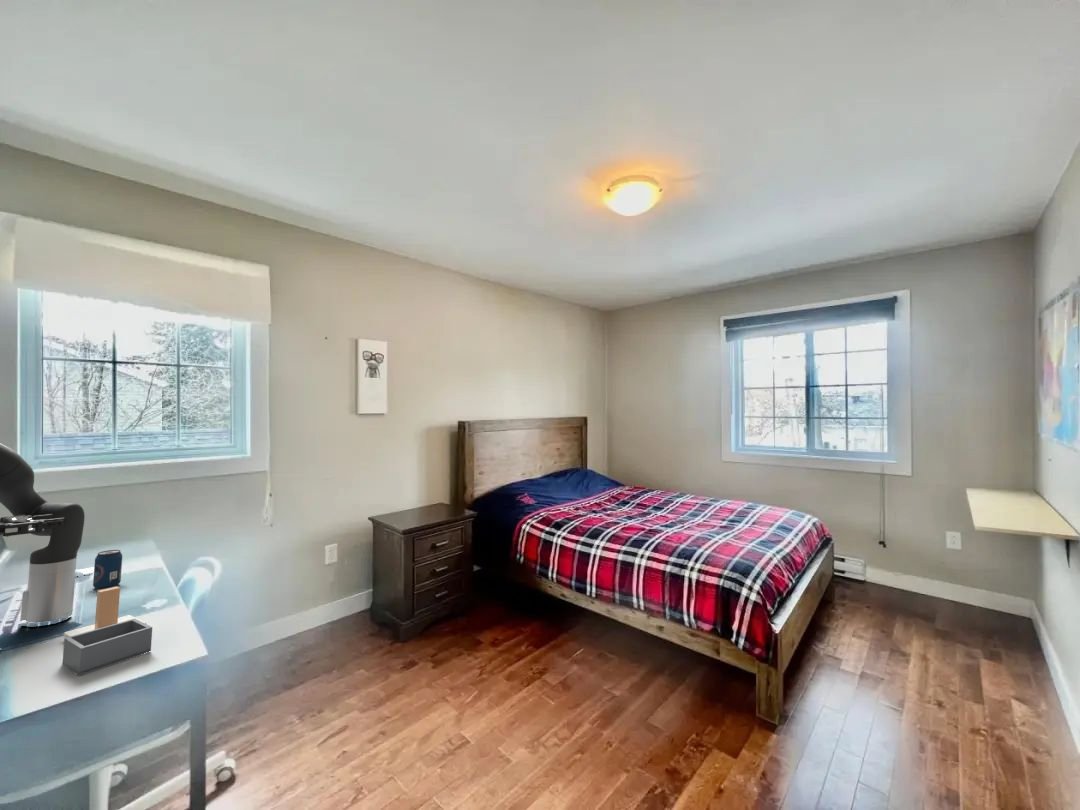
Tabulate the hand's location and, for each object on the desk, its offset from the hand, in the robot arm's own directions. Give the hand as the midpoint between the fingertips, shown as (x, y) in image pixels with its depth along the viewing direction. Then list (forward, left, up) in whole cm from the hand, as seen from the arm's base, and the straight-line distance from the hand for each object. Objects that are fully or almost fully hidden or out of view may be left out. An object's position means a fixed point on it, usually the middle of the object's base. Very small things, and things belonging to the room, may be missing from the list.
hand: (59, 520), depth 114 cm
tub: (+15, -8, -32) cm, 36 cm away
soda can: (-11, +52, -32) cm, 62 cm away
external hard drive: (-27, +72, -33) cm, 84 cm away
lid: (+8, +7, -32) cm, 34 cm away
